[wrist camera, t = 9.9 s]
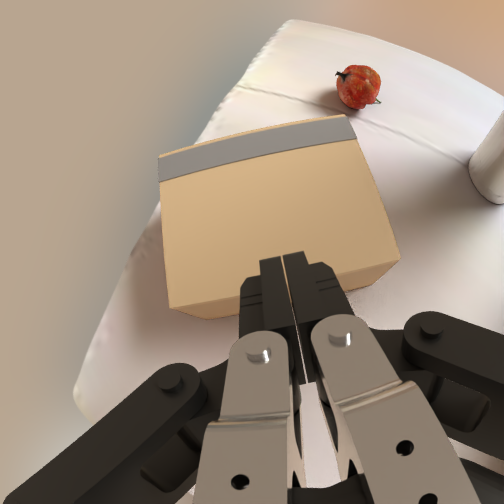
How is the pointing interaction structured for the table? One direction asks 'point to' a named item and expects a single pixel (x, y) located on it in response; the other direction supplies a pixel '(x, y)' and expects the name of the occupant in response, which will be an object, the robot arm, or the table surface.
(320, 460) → the table surface
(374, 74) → the pomegranate
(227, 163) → the box lid
